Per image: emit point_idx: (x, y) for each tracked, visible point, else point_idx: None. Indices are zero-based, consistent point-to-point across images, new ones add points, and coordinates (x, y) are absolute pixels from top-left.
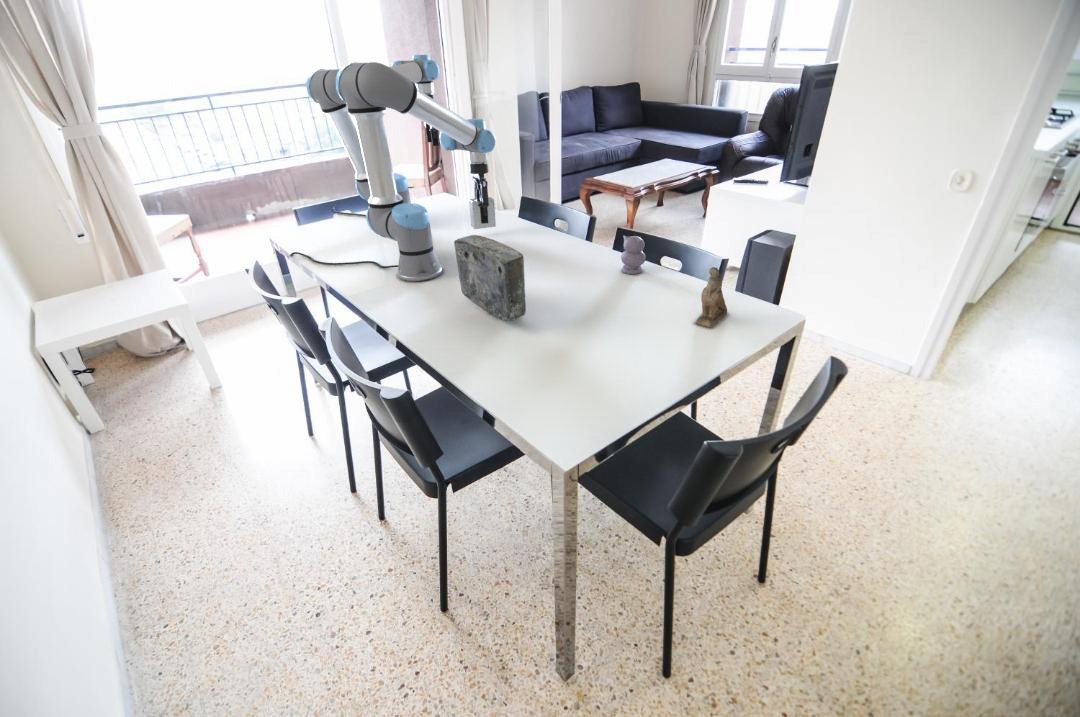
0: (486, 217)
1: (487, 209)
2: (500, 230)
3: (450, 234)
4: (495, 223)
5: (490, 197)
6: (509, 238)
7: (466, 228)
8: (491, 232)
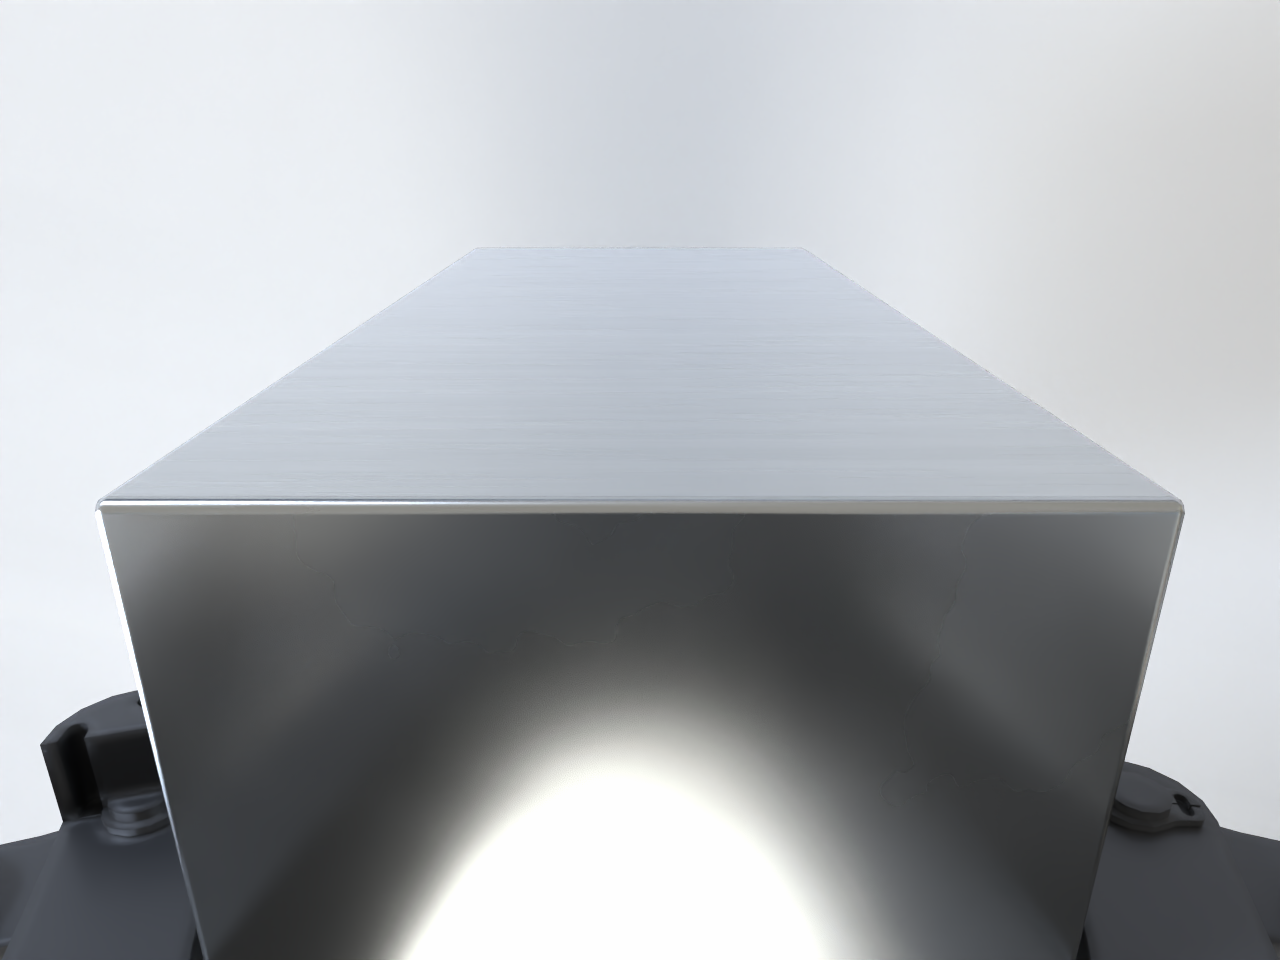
0: None
1: None
2: (396, 4)
3: None
4: (819, 262)
5: (301, 542)
6: (1035, 3)
7: (44, 587)
8: (461, 237)
